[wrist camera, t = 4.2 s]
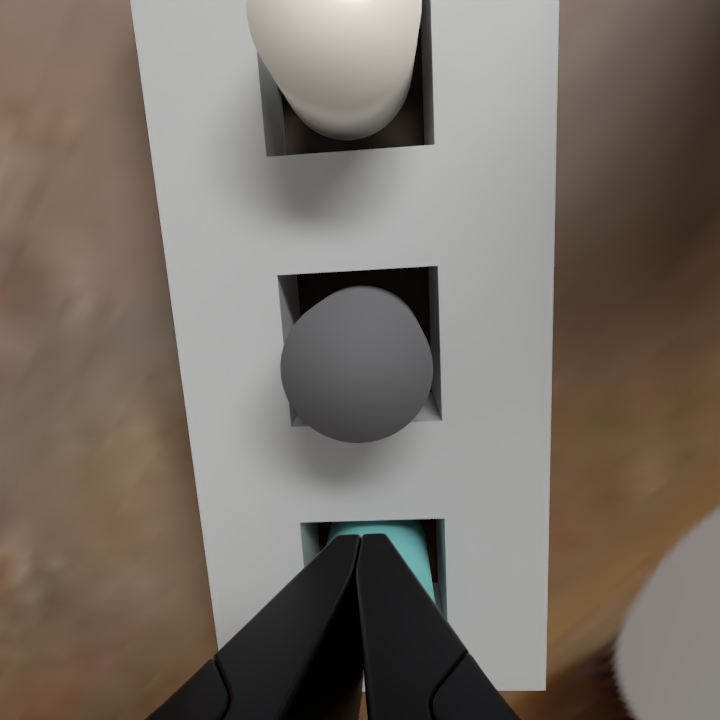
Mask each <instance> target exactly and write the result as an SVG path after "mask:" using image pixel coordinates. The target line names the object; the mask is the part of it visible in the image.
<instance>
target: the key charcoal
mask: <svg viewBox="0 0 720 720" xmlns="http://www.w3.org/2000/svg"><path fill="white" fill-rule="evenodd" d="M280 370H281V380H282V385H283V388H284V392H285V394H286V397H287V399H288V401H289V403H290V405H291V406H292V408H293V410H294V411H295V412H296V413H297V415H298V416H299V417H300V418H301V419H302V420H303V421H304V422H305V423H306V424H307V425H308V426H310V427H311V428H312V429H314V430H315V431H317V432H318V433H320V434H322V435H324V436H326V437H329V438H331V439H334V440H338V441H342V442H348V443H367V442H373V441H378V440H381V439H384V438H387V437H389V436H391V435H393V434H395V433H397V432H398V431H400V430H401V429H403V428H404V427H406V426H407V425H408V424H409V423H410V422H411V421H412V420H413V419H414V418H415V417H416V416H417V414H418V413H419V412H420V410H421V409H422V407H423V406H424V404H425V402H426V400H427V397H428V395H429V392H430V389H431V385H432V379H433V360H432V354H431V350H430V347H429V344H428V342H427V339H426V337H425V335H424V333H423V331H422V329H421V327H420V325H419V323H418V321H417V319H416V317H415V315H414V313H413V312H412V310H411V309H410V308H409V306H408V305H407V304H406V303H405V302H404V301H403V300H402V299H400V298H399V297H398V296H397V295H395V294H393V293H392V292H390V291H388V290H385V289H383V288H380V287H376V286H370V285H356V286H350V287H346V288H343V289H340V290H338V291H336V292H334V293H332V294H331V295H329V296H328V297H326V298H325V299H323V300H322V301H321V302H319V303H318V304H316V305H315V306H313V307H312V308H311V309H309V310H308V311H307V312H306V313H304V314H303V315H302V316H301V318H300V319H299V320H298V321H297V322H296V323H295V325H294V326H293V327H292V329H291V331H290V333H289V334H288V336H287V338H286V341H285V344H284V346H283V351H282V355H281V363H280Z"/></svg>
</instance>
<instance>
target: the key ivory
mask: <svg viewBox="0 0 720 720" xmlns="http://www.w3.org/2000/svg"><path fill="white" fill-rule="evenodd" d="M246 7H247V19H248V25H249V30H250V33H251V37H252V40H253V42H254V45H255V47H256V50H257V52H258V54H259V55H260V57H261V59H262V61H263V62H264V64H265V66H266V67H267V69H268V70H269V72H270V74H271V75H272V77H273V78H274V80H275V82H276V83H277V85H278V86H279V88H280V90H281V91H282V93H283V94H284V96H285V98H286V99H287V101H288V102H289V104H290V106H291V107H292V109H293V110H294V112H295V113H296V114H297V116H298V117H299V118H300V119H301V120H302V122H303V123H304V124H306V125H307V126H308V127H309V128H310V129H312V130H313V131H315V132H317V133H318V134H320V135H323V136H325V137H328V138H331V139H335V140H357V139H362V138H365V137H368V136H370V135H373V134H375V133H376V132H378V131H380V130H381V129H383V128H384V127H385V126H386V125H388V124H389V123H390V122H391V121H392V120H393V119H394V118H395V116H396V115H397V114H398V112H399V111H400V109H401V108H402V106H403V104H404V102H405V100H406V98H407V95H408V92H409V89H410V85H411V79H412V73H413V66H414V59H415V53H416V46H417V39H418V33H419V26H420V19H421V12H422V0H246Z"/></svg>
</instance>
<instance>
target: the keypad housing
mask: <svg viewBox="0 0 720 720" xmlns="http://www.w3.org/2000/svg"><path fill="white" fill-rule="evenodd" d="M130 2H131V9H132V16H133V24H134V31H135V39H136V46H137V53H138V61H139V68H140V75H141V83H142V90H143V98H144V105H145V112H146V120H147V127H148V134H149V142H150V149H151V157H152V164H153V171H154V179H155V186H156V193H157V201H158V208H159V216H160V223H161V230H162V238H163V245H164V252H165V260H166V267H167V275H168V282H169V289H170V297H171V304H172V311H173V319H174V326H175V334H176V341H177V348H178V356H179V363H180V371H181V378H182V385H183V393H184V400H185V407H186V415H187V422H188V430H189V437H190V444H191V452H192V459H193V466H194V474H195V481H196V489H197V496H198V503H199V511H200V518H201V525H202V533H203V540H204V548H205V555H206V562H207V570H208V577H209V584H210V592H211V599H212V607H213V614H214V621H215V629H216V636H217V643H218V651H219V650H220V649H221V648H222V647H223V646H224V645H225V644H226V643H227V642H228V641H229V640H230V639H231V638H232V637H233V636H234V635H235V634H236V633H238V632H239V631H240V630H241V629H242V628H243V627H244V626H245V625H246V624H247V623H248V622H249V621H250V620H251V619H252V618H253V617H254V616H255V615H256V614H257V613H258V612H259V611H260V610H261V609H262V608H263V607H264V606H265V605H266V604H267V603H268V602H269V601H270V600H271V599H272V598H273V597H274V596H275V595H276V594H277V593H278V592H280V591H281V590H282V589H283V588H284V587H285V586H286V585H287V584H288V583H289V582H290V581H291V580H292V579H293V578H294V577H295V576H296V575H297V574H298V573H299V572H300V571H301V570H302V569H303V568H304V567H305V566H306V565H307V564H308V563H309V562H310V561H311V560H312V559H313V558H314V557H315V556H316V555H317V554H318V553H319V552H320V545H319V533H318V522H339V521H375V520H410V519H436V534H437V567H438V582H437V583H432V584H433V591H434V598H435V604H436V606H437V607H438V608H439V610H440V611H441V613H442V614H443V616H444V617H445V618H446V620H447V621H448V623H449V624H450V626H451V627H452V628H453V630H454V631H455V633H456V634H457V635H458V637H459V638H460V640H461V641H462V643H463V644H464V645H465V647H466V648H467V650H468V651H469V654H470V655H472V656H473V658H474V659H475V661H476V662H477V663H478V665H479V666H480V668H481V669H482V671H483V672H484V673H485V675H486V676H487V678H488V679H489V680H490V681H491V683H492V684H493V685H494V687H495V688H496V689H497V691H540V690H546V652H547V600H548V549H549V497H550V446H551V394H552V343H553V291H554V240H555V188H556V137H557V85H558V34H559V0H422V12H421V48H422V80H423V113H424V145H421V146H407V147H394V148H380V149H367V150H353V151H339V152H326V153H312V154H299V155H287V150H286V138H285V126H284V114H283V102H282V91H281V90H280V88H279V86H278V85H277V83H276V82H275V80H274V78H273V77H272V75H271V74H270V72H269V70H268V69H267V67H266V66H265V64H264V62H263V61H262V59H261V57H260V55H259V54H258V52H257V50H256V47H255V45H254V42H253V40H252V37H251V33H250V30H249V25H248V19H247V7H246V0H130ZM427 266H428V275H429V307H430V340H431V354H432V360H433V379H432V392H429V395H428V397H427V400H426V402H425V404H424V406H423V407H422V409H421V410H420V412H419V413H418V414H417V416H416V417H415V418H414V419H413V420H412V421H411V422H410V423H409V424H408V425H407V426H406V427H404V428H403V429H401V430H400V431H398V432H397V433H395V434H393V435H391V436H389V437H387V438H384V439H381V440H378V441H373V442H367V443H348V442H342V441H338V440H334V439H331V438H329V437H326V436H324V435H322V434H320V433H318V432H317V431H315V430H314V429H312V428H311V427H310V426H308V425H307V424H306V423H305V422H304V421H303V420H302V419H301V418H300V417H299V416H298V415H297V413H296V412H295V411H294V410H293V408H292V406H291V405H290V403H289V401H288V399H287V397H286V394H285V392H284V388H283V385H282V380H281V370H280V363H281V355H282V351H283V346H284V344H285V341H286V338H287V336H288V334H289V333H290V331H291V329H292V327H293V326H294V325H295V323H296V322H297V321H298V320H299V319H300V306H299V294H298V282H297V274H308V273H325V272H342V271H359V270H376V269H393V268H410V267H427ZM362 692H365V683H364V678H363V688H362Z"/></svg>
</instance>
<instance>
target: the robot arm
mask: <svg viewBox="0 0 720 720" xmlns="http://www.w3.org/2000/svg"><path fill="white" fill-rule="evenodd" d="M363 678H364V683H365V693H366V704H367V714H368V720H521V719H520V718H519V716H518V715H517V714H516V713H515V712H514V711H513V710H512V708H511V707H510V706H509V705H508V704H507V703H506V701H505V700H504V699H503V697H502V696H501V695H500V693H499V692H498V691H497V689H496V688H495V687H494V685H493V684H492V683H491V681H490V680H489V679H488V678H487V676H486V675H485V673H484V672H483V671H482V669H481V668H480V666H479V665H478V663H477V662H476V661H475V659H474V658H473V656H472V655H470V654H469V651H468V650H467V648H466V647H465V645H464V644H463V643H462V641H461V640H460V638H459V637H458V635H457V634H456V633H455V631H454V630H453V628H452V627H451V626H450V624H449V623H448V621H447V620H446V618H445V617H444V616H443V614H442V613H441V611H440V610H439V608H438V607H437V606H436V604H435V603H434V601H433V600H432V598H431V597H430V596H429V594H428V593H427V591H426V590H425V589H424V587H423V586H422V584H421V583H420V581H419V580H418V579H417V577H416V576H415V574H414V573H413V571H412V570H411V569H410V567H409V566H408V564H407V563H406V562H405V560H404V559H403V557H402V556H401V554H400V553H399V552H398V550H397V549H396V547H395V546H394V544H393V543H392V542H391V540H390V539H389V537H388V536H387V535H386V534H384V533H373V534H364V535H363V536H362V538H361V536H360V535H358V534H347V535H337V536H336V537H335V538H334V539H333V540H332V541H331V542H330V543H329V544H328V545H327V546H326V547H325V548H324V549H323V550H322V551H320V552H319V553H318V554H317V555H316V556H315V557H314V558H313V559H312V560H311V561H310V562H309V563H308V564H307V565H306V566H305V567H304V568H303V569H302V570H301V571H300V572H299V573H298V574H297V575H296V576H295V577H294V578H293V579H292V580H291V581H290V582H289V583H288V584H287V585H286V586H285V587H284V588H283V589H282V590H281V591H280V592H278V593H277V594H276V595H275V596H274V597H273V598H272V599H271V600H270V601H269V602H268V603H267V604H266V605H265V606H264V607H263V608H262V609H261V610H260V611H259V612H258V613H257V614H256V615H255V616H254V617H253V618H252V619H251V620H250V621H249V622H248V623H247V624H246V625H245V626H244V627H243V628H242V629H241V630H240V631H239V632H238V633H236V634H235V635H234V636H233V637H232V638H231V639H230V640H229V641H228V642H227V643H226V644H225V645H224V646H223V647H222V648H221V649H220V650H219V651H218V652H217V653H216V654H215V655H214V659H210V660H209V661H208V662H206V663H205V664H204V665H203V666H202V667H201V668H200V669H199V670H198V671H197V672H196V673H195V674H194V675H193V676H192V677H191V678H190V679H189V680H188V681H187V682H186V683H185V684H184V685H182V686H181V687H180V688H179V689H178V690H177V691H176V692H175V693H174V694H173V695H172V696H171V697H170V698H168V699H167V700H166V701H165V702H164V703H163V704H162V705H161V706H160V707H159V708H157V709H156V710H155V711H154V712H153V713H152V714H150V715H149V716H148V717H147V718H146V719H145V720H358V718H359V711H360V704H361V697H362V688H363Z"/></svg>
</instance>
